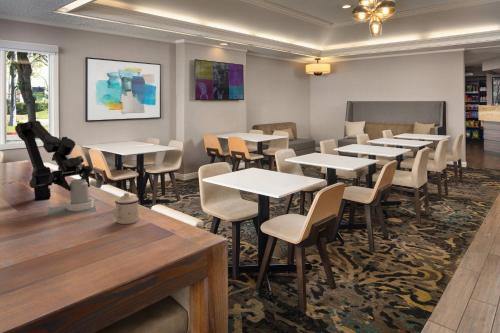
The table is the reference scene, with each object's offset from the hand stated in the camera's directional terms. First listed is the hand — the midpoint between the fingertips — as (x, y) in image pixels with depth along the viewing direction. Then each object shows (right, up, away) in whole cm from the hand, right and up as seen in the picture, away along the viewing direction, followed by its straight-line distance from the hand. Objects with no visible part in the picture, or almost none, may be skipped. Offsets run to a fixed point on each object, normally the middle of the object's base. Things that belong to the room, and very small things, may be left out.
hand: (80, 188), depth 169 cm
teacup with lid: (+26, -13, -16) cm, 33 cm away
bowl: (-1, -9, +2) cm, 9 cm away
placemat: (-3, -10, -1) cm, 10 cm away
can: (-1, -8, +2) cm, 8 cm away
